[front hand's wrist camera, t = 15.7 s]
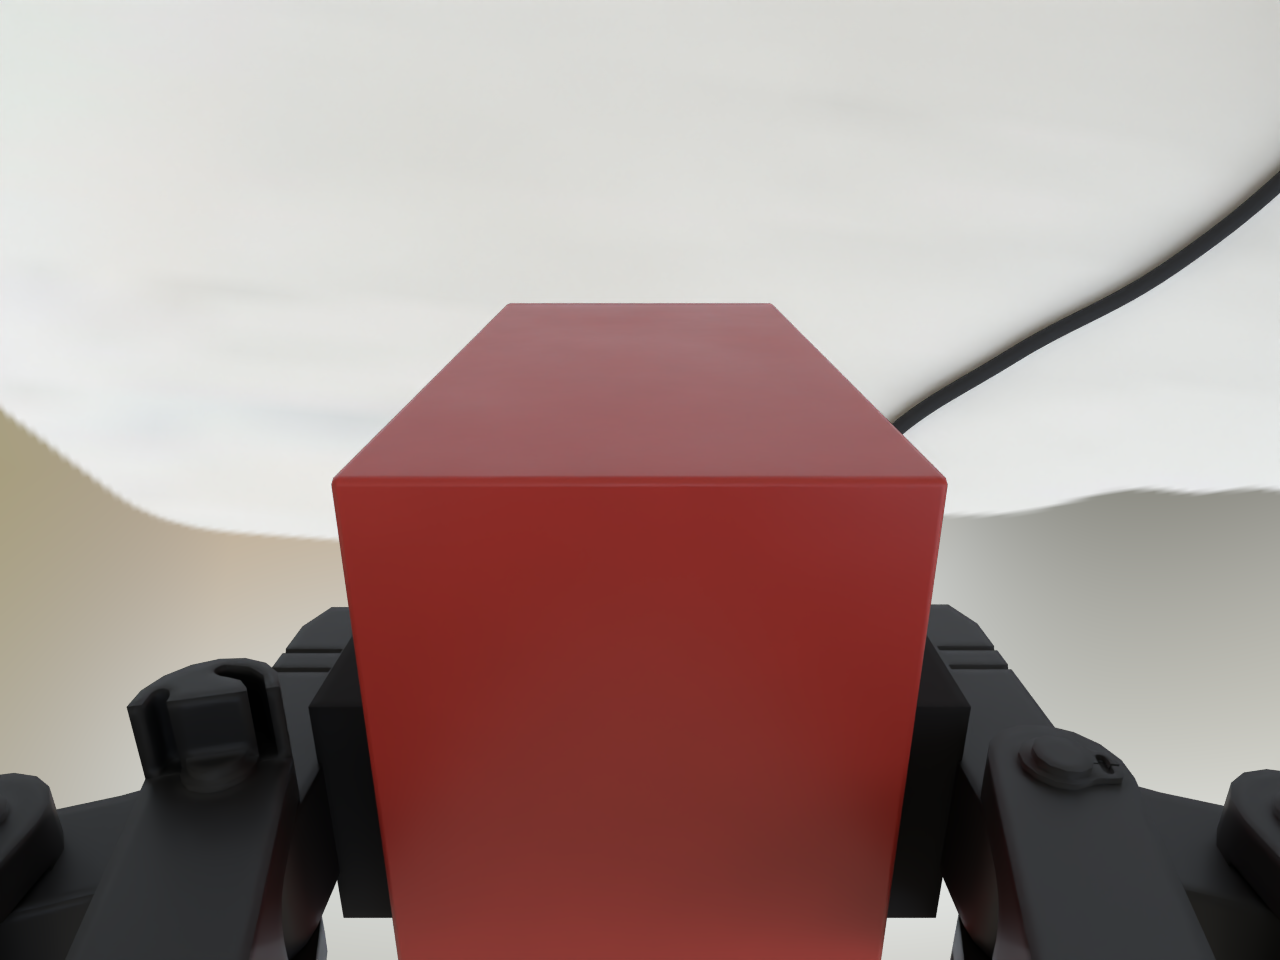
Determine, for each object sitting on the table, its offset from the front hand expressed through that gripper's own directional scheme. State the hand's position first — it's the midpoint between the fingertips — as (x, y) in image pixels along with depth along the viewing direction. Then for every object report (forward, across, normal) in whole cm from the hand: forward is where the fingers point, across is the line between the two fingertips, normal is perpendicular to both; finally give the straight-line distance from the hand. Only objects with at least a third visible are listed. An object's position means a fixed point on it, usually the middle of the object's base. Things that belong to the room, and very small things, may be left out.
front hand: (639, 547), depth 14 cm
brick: (+2, 0, 0) cm, 2 cm away
